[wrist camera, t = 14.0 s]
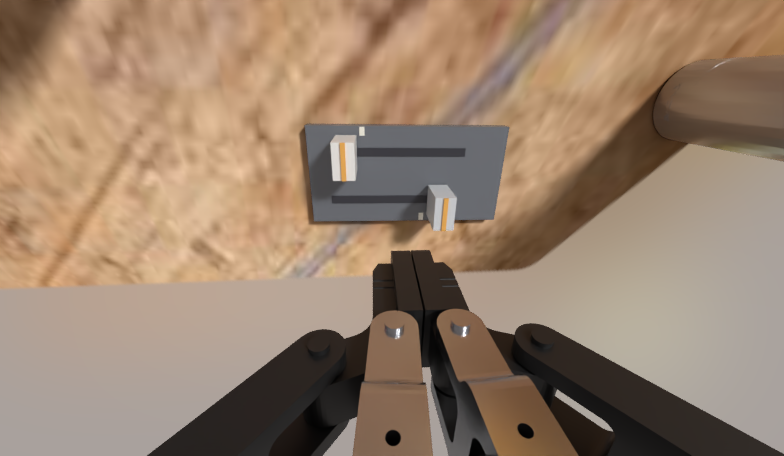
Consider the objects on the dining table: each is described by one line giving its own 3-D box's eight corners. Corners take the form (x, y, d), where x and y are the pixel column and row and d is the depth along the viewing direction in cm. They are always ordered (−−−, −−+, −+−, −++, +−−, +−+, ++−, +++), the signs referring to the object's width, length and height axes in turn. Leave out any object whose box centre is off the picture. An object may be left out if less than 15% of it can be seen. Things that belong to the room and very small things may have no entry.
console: (504, 125, 38) (509, 127, 37) (489, 215, 43) (493, 219, 42) (307, 123, 37) (304, 125, 35) (315, 216, 42) (313, 221, 41)
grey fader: (446, 184, 39) (457, 198, 35) (444, 213, 41) (453, 230, 36) (428, 184, 39) (436, 198, 34) (426, 214, 41) (433, 231, 36)
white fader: (356, 135, 36) (354, 142, 31) (357, 169, 38) (355, 181, 33) (335, 134, 36) (330, 142, 31) (337, 168, 38) (332, 181, 33)
